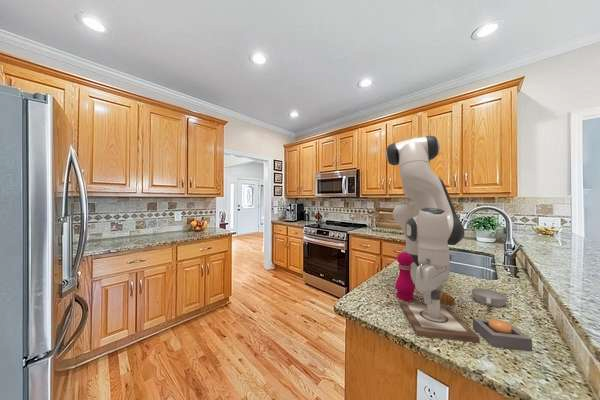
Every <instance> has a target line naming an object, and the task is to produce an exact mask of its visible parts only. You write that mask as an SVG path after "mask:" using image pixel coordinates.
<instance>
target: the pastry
mask: <svg viewBox="0 0 600 400" xmlns="http://www.w3.org/2000/svg"><path fill="white" fill-rule="evenodd" d="M435 290H436V289H435ZM455 302H456V301H455V298H454V297H453V296H451V295H450V294H449V293H446V292H444V291H442V296H440V304H445V305H453V304H455Z"/></svg>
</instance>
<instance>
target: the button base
mask: <svg viewBox="0 0 600 400" xmlns="http://www.w3.org/2000/svg"><path fill="white" fill-rule="evenodd" d="M504 321H505V320H504ZM505 322H507V323H509V322H508V321H505ZM509 324H510V325H511V330H512V334H504V333H495V332H494V331H492V330H491V329H490V328H489V319H486V318H485V319H484V318H476V317H475V318H472V330H474V331H475V332H477V333H478V334H479V335H480V336H481V338H483V339H484V340H485V341H486V342H487V343H488V344H489V345H490V346H492V347H495V348H503V349H510V350H511V349H512V350H518V351H519V350H520V351H522V350H523V351H529V352H532V351H533V338H531V337H529V336H528V335H527V334H525V333H523V332H522V331H521V330H520V329H518V328H516V327H515V325H512V324H511V323H509Z"/></svg>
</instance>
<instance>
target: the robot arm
mask: <svg viewBox="0 0 600 400" xmlns="http://www.w3.org/2000/svg"><path fill="white" fill-rule="evenodd" d="M440 147H441V144H440V141H439V140H438V137H436V136H435V135H426V136H422V137H421V136H419V137H413V138H412V137H411V138H409V139H405V140H402V141H399V142H396V143H395V142H394V143H391V144H389V145H388V146H387V147H386V150H385V159H386V161H387V163H388V164H390V165H391V166H398V165H399V167H398V168H399V174H400V180H401V184H402V192H403V194H404V195H405V196H406V197H408V198H409V199H411V200H412V202H413V203H405V204H399V205H395V207H394V209H393V210H392V218H393V220H394V222H396V223H397V224H398V225H399V227H400V228H401V229H402V231H403V234H404V238H405V239H404V240H405V249H406V250H407V253H408V254H410V255H411V256H412V258H413V263H412V264H411V266H412V267H411V268H412V269H411V271H410V273H411V278H412V280H413V283H414V284H416V285H415V291H417V292H419V293H422V296H423V300H424V301H423V302H424V303H423V304H428V305H430V304H431V303H432V298H431V292H432V291H433V290H434V289H436V290H438V291H440V296H442V292H443V290H444V284H445V283H446V282H447V281H449V278H450V272H451V270H450V269H451V261H452V260H453V256H452V253H450V246H455V245H457V244H459V243H460V242H461V241H462V240H463V239H464V237H465V235H466V234H465V232H466V231H465V228H464V224H463V223H462V221H461V220H460V218H459V217H458V215H457V212H456V210H455V207H454V204H453V202H452V199H451V196H450V195H449V191H448V190H447V187H446V184H445V183H444V180H443V179H441V178H440V177H438V176H437V175H436V174H435V173H434V171H433V170H432V168H431V164H430V162H431V161H432V160H433V159H435V158H436V157H437V156H438V155H439V152H440ZM398 277H399V276H398V275H397V278H398Z"/></svg>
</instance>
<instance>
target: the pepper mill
mask: <svg viewBox="0 0 600 400" xmlns="http://www.w3.org/2000/svg"><path fill="white" fill-rule="evenodd" d="M401 251H402V252H400V253H398V254H397V256H396V260H397V263H398V271H400V272H399V277H398V276H397V279H396V281H395V289H396V290H397V291H396V298H398V299H399V300H402V301H405V302H412V301H414V299H415V298H414V292H415V291H416V285H414V283H413V280H412V278H411V273H410V271H411V269H412V268H411V267H412V266H411V264H412V263H413V258H412V256H411V255H410V254H408V253H407V250H406V248H404V249H402V250H401Z"/></svg>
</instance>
